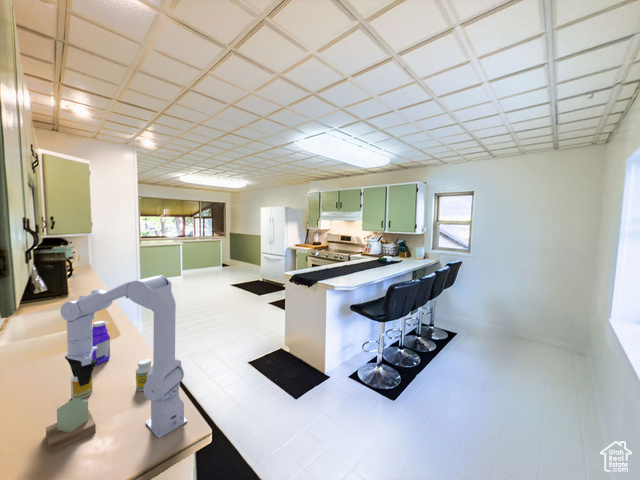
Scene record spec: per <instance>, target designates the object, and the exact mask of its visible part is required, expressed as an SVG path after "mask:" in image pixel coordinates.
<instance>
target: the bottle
mask: <svg viewBox="0 0 640 480" xmlns="http://www.w3.org/2000/svg"><path fill="white" fill-rule="evenodd" d="M108 331H109V330H108V329H107V324H106V321H105V320H98V321H94V322H92V338H93V347H94V346H97V347H98V349H97V350H95V351H93V353H92V355H91V360H94V359H96V360H97V364H96V365H95V366H97V365H101V364H102V363H104V362H107V361H108V360H109V359H110V357H111V336H110V334H109V333H108ZM106 360H107V361H106ZM100 363H101V364H100Z"/></svg>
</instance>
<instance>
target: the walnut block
mask: <svg viewBox="0 0 640 480" xmlns="http://www.w3.org/2000/svg"><path fill="white" fill-rule="evenodd" d="M96 424H97V423H96V422H95V419H94V418H93V416H92V413H91V412H90V410H89V409H88V421H87V422H85V423H84V424H82V425H81V426H79V427H78V428H77V429H75V430H74V431H72V432H65V431H60V430H57V422H56V423H53V424H50V425H48V426H46V427H45V436H46V443H47V446H48V452H49V454H50V455H51V454H53V453H55V452H58V451H59V450H62V449H64V448H65V447H68V446H70V445H72V444H74V443H77V442H79V441H80V440H83V439H85V438H87V437H90V436H92V435H93V434H95V433H96V432H97V431H96V430H97V429H96Z"/></svg>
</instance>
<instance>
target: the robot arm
mask: <svg viewBox="0 0 640 480" xmlns="http://www.w3.org/2000/svg"><path fill="white" fill-rule="evenodd" d="M124 297H125V299H129V300H130V301H132V302H134V303H135V304H137V305H139V306H141V307H143V308H146V309H147V310H150V311H152V312H153V351H152V352H153V353H152V354H153V361H152V362H153V363H152V365H153V366H152V368H151V369H150V371H149V373H148V374H147V381H146V383H145V385H144V391H143V394H144V396H145V397H146V398H147V400H148V401H150V418H149V419H147V420H146V421H145V424H146V426H147V427H148V428H149V430H151V432H153V434H154V435H155V436H156V438H158V439H161V438H162V437H164V436H165V435H167V434H169V433H171V432H173V431H174V430H176V429H177V428H179V427H180V426H183V425H184V424H186V423H187V422H188V419H187V418H186V417H185V403H184V401H183V400H182V398H181V397H180V391H179V390H180V387H181V382H182V381H183V379H184V377H185V372H184V369H183V367H182V361H181V359H178V358H176V304H177V303H176V300H175V297H174V295H173V292H172V282H171V281H170V280H169V279H168V278H167V277H166V276H164V275H163V274H162V275H161V274H156V275H154V276H150V277H146V278H145V277H144V278H140V279H135V280H132V281H128V282H125V283H122V284H120V285H118V286H115V287H114V288H111V289H109V290H105V289H98V288H97V289H95V290H91V292H90V294H86V295H85V294H84V295H81V296H79V298H78V299H76V300H72V301H71V300H70V301H69V300H68V301H65V303H63V304H62V305H61V306H60V307H61V308H60V311H59V312H60V316H61V318H62V319H63V320H64V321H66V339H67V340H66V341H67V354H66V355H65V356H64V359H65V360H66V361H67V362H68V364H69V366H70V369H71V373H72V376H74V377H77V379H78V383H79V385H80V386H83V385H86V384H89V382H90V379H91V375H92V376H93V370H94V368H95V367H96V366H97V365H96V364H97V360H96V359H94V360H91V355H92V353H93V351H95V350H97V349H98V347H97V346H94V347H93V338H92V329H93V320H94V319H95V313H97V312H99V311H102V310H105V309H108V308H109V307H110V306H111V305H112V304H113V301H116V300H119V299H122V298H124Z"/></svg>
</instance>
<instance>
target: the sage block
mask: <svg viewBox="0 0 640 480" xmlns="http://www.w3.org/2000/svg"><path fill="white" fill-rule="evenodd" d="M88 410H89V400H88V399H84V398H81V399H76V398H75V399H72V400H70V401H68V402H66V403H65V404H62V405H61V406H59V407H57V408H56V423H57V430H60V431H65V432H72V431H74V430H75V429H77V428H78V427H79V426H81V425H82V424H84V423H85V422H87V421H88Z"/></svg>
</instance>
